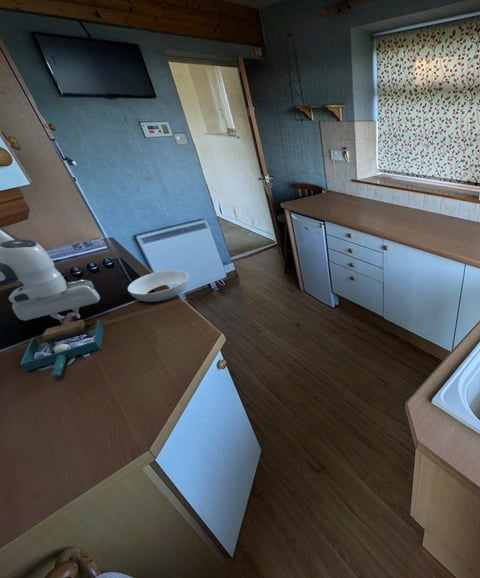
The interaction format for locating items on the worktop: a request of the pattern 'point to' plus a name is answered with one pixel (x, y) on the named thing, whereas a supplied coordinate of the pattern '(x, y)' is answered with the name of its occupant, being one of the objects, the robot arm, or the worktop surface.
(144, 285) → the serving bowl
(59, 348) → the paper wad
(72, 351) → the dustpan
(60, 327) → the brush
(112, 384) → the worktop surface
